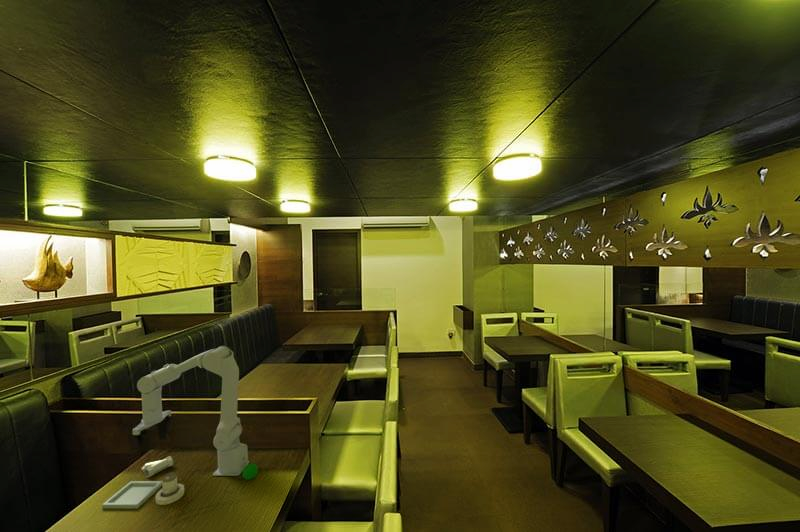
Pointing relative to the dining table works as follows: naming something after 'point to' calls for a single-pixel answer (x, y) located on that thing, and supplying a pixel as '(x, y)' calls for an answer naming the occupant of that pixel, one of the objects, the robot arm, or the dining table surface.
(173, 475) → the metal cylinder
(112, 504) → the tray
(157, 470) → the pipe fitting
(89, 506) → the dining table surface
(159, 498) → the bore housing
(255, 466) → the polyhedron
